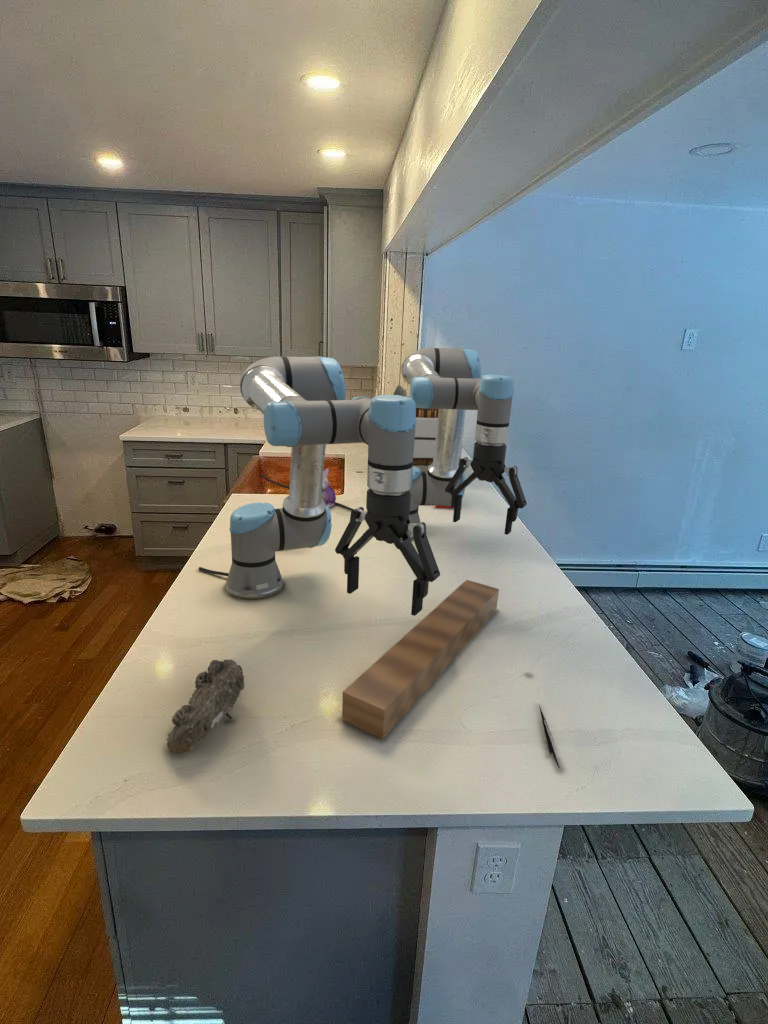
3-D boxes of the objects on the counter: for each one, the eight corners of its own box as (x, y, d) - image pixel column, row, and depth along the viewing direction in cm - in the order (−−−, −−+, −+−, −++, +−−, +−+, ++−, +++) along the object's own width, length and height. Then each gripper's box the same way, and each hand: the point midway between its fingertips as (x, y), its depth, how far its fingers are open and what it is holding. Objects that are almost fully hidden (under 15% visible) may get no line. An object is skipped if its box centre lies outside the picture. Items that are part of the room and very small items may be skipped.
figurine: (318, 511, 218) (318, 473, 213) (309, 502, 226) (309, 466, 221) (341, 508, 222) (341, 471, 217) (331, 500, 231) (331, 464, 226)
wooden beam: (464, 601, 156) (466, 579, 153) (496, 610, 151) (499, 588, 149) (341, 720, 109) (342, 691, 107) (382, 739, 104) (384, 710, 102)
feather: (529, 679, 125) (535, 673, 125) (559, 773, 99) (566, 766, 98) (523, 675, 125) (528, 669, 125) (551, 768, 98) (558, 761, 98)
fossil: (192, 660, 117) (244, 628, 112) (224, 691, 120) (276, 661, 115) (142, 746, 98) (202, 712, 93) (182, 779, 101) (242, 748, 96)
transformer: (382, 463, 289) (386, 382, 275) (445, 464, 293) (451, 384, 279) (390, 482, 257) (394, 392, 243) (460, 483, 261) (468, 394, 247)
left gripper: (316, 480, 98) (316, 589, 106) (446, 510, 86) (436, 631, 94) (341, 471, 104) (339, 575, 112) (466, 498, 93) (455, 612, 100)
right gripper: (435, 437, 136) (429, 519, 143) (537, 454, 124) (525, 543, 131) (449, 432, 142) (442, 511, 149) (547, 448, 130) (535, 533, 138)
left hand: (383, 601), depth 103 cm, fingers open, 13 cm apart
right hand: (481, 526), depth 140 cm, fingers open, 13 cm apart
